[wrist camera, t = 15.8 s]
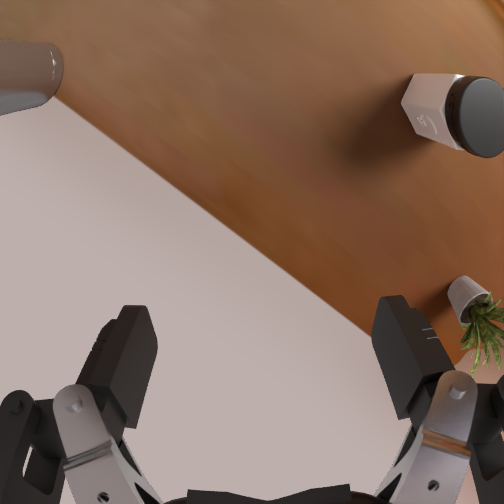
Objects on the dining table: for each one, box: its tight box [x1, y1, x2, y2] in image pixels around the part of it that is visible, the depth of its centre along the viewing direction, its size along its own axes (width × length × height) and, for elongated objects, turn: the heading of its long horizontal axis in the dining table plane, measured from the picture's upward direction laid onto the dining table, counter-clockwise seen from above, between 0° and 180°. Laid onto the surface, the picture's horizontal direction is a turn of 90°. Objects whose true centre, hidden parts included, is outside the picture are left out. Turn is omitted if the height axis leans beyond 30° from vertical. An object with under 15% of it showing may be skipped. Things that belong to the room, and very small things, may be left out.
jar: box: [401, 74, 504, 158], centre depth 26 cm, size 9×8×12 cm
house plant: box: [448, 276, 504, 377], centre depth 38 cm, size 14×14×16 cm
